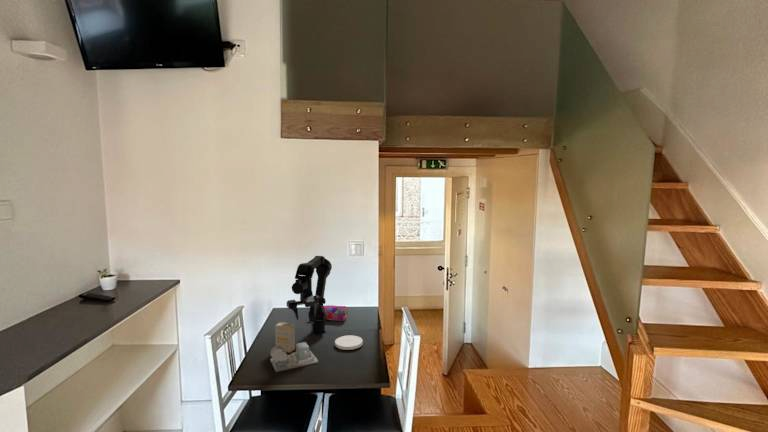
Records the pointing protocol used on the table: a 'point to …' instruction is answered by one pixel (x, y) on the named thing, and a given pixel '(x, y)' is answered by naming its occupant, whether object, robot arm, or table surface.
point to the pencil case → (336, 312)
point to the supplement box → (285, 336)
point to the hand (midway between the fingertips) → (306, 318)
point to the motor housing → (289, 359)
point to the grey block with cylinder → (302, 351)
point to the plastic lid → (348, 342)
